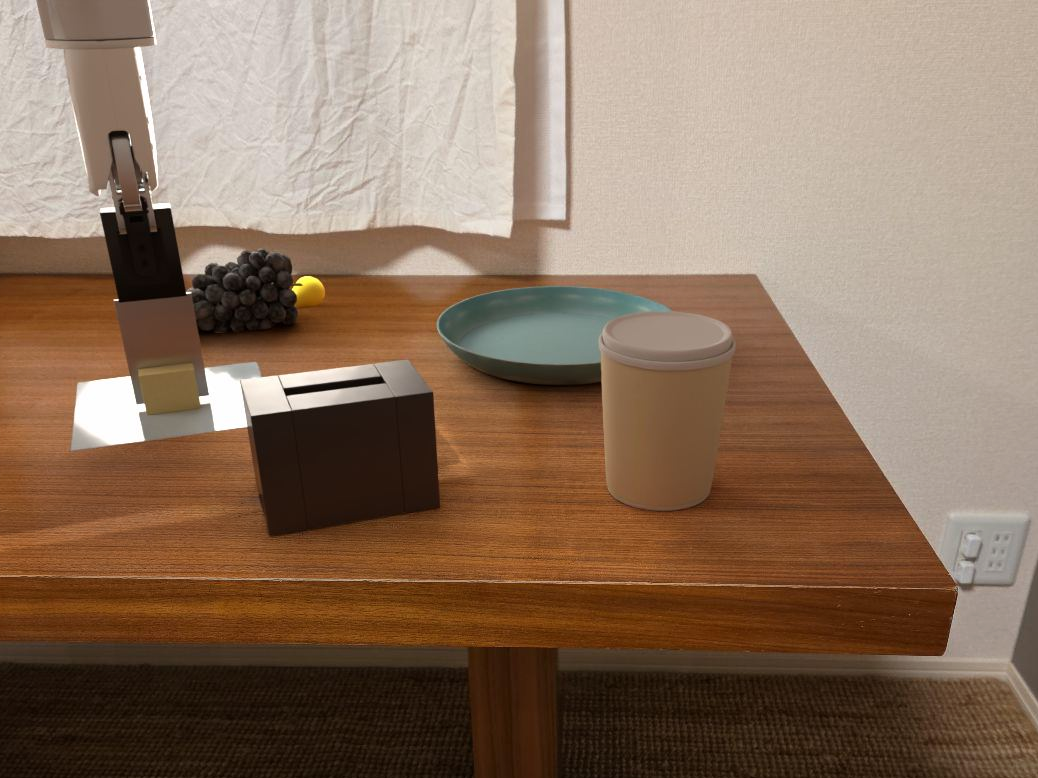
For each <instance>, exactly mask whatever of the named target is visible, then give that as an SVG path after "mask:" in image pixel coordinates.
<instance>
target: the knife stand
mask: <svg viewBox="0 0 1038 778" xmlns="http://www.w3.org/2000/svg"><path fill="white" fill-rule="evenodd" d="M240 385H241V391H242V397H243V404H244V410H245V416H246V422H247V427H246V429H247V434H248V440H249V446H250V453H251V458H252V465H253V472H254V477H255V483H256V487H257V491H258V495H257V496H258V499H259V502H260V506H261V511H262V514H263V517H264V521H265V525H266V529H267V532H268V536H269V537H274V536H281V535H286V534H287V535H288V534H292V533H299V532H304V531H305V532H306V531H308V530H316V529H322V528H328V527H333V526H340V525H345V524H351V523H358V522H363V521H368V520H374V519H375V520H376V519H381V518H387V517H392V516H398V515H404V514H409V513H416V512H422V511H428V510H434V509H439V508H441V498H440V497H441V496H440V480H439V464H438V463H439V462H438V449H437V448H438V447H437V430H436V416H435V415H436V414H435V399H434V398H435V397H434V391H433V390H432V389H431V387H430V386H429V384H428V383H427V381H425V379H424V378H423V377H422V375H421V374H420V373H419V371H418V369H416V367H415V366H414V364H413V363H412V362H411V360H410V359H400V360H393V361H391V360H390V361H385V362H376V363H370V364H362V365H352V366H344V367H336V368H335V367H334V368H327V369H321V370H320V369H319V370H311V371H304V372H303V371H302V372H295V373H288V374H279V375H269V376H262V377H260V378H252V379H244V380H240Z"/></svg>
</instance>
